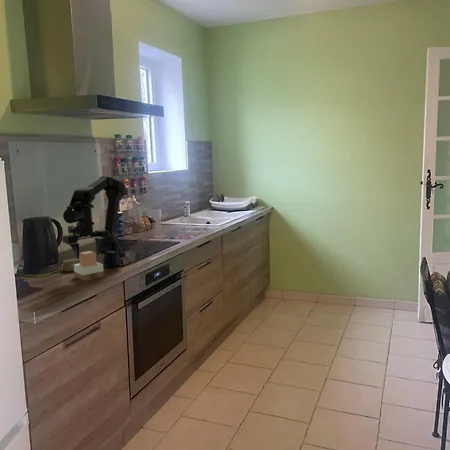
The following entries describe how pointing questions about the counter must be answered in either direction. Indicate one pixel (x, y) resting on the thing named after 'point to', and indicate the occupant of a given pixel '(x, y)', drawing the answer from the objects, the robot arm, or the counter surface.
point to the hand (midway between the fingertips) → (88, 256)
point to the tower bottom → (89, 275)
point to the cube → (87, 258)
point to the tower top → (88, 268)
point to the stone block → (70, 264)
